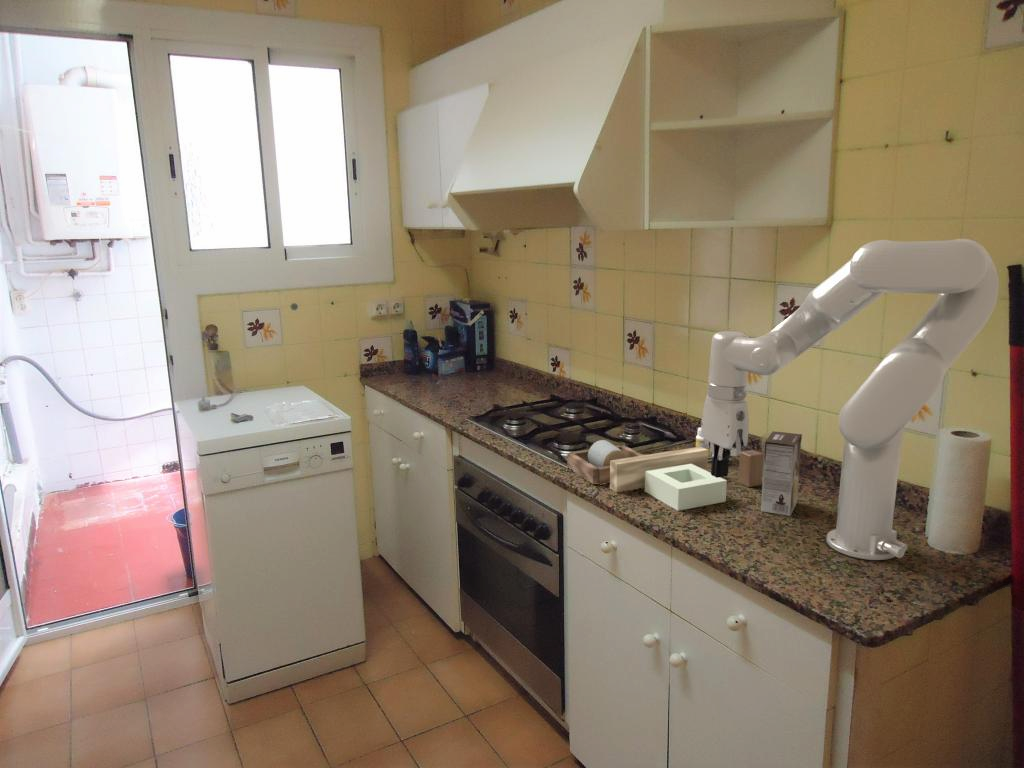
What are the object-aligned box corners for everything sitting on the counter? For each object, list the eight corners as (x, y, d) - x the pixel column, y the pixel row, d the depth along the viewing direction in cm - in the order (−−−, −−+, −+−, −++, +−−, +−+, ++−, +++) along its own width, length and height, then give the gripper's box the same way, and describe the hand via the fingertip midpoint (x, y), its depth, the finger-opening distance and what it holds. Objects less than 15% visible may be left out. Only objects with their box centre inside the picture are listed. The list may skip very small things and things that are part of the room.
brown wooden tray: (654, 475, 178) (654, 460, 177) (594, 486, 171) (594, 470, 171) (622, 458, 191) (622, 444, 191) (566, 467, 185) (566, 452, 184)
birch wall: (707, 476, 177) (708, 449, 175) (616, 492, 167) (616, 464, 165) (699, 473, 179) (700, 446, 178) (609, 488, 170) (610, 460, 168)
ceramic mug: (603, 479, 176) (604, 450, 174) (586, 470, 183) (587, 441, 181) (639, 474, 180) (640, 444, 178) (621, 464, 187) (622, 436, 186)
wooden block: (737, 482, 172) (739, 451, 171) (750, 480, 174) (752, 449, 172) (748, 488, 169) (750, 455, 167) (762, 485, 170) (764, 453, 169)
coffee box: (767, 497, 163) (772, 430, 159) (797, 502, 160) (802, 433, 156) (760, 511, 155) (764, 440, 151) (791, 517, 152) (796, 444, 148)
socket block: (725, 501, 161) (726, 480, 160) (677, 510, 156) (678, 489, 155) (690, 483, 173) (691, 463, 171) (644, 491, 168) (645, 471, 167)
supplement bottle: (699, 455, 193) (701, 425, 192) (716, 458, 190) (717, 428, 189) (691, 459, 190) (693, 429, 188) (708, 463, 187) (710, 432, 185)
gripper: (766, 398, 142) (757, 485, 146) (717, 382, 155) (711, 462, 159) (736, 402, 139) (728, 490, 143) (689, 385, 152) (683, 466, 156)
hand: (719, 475), depth 151 cm, fingers closed
